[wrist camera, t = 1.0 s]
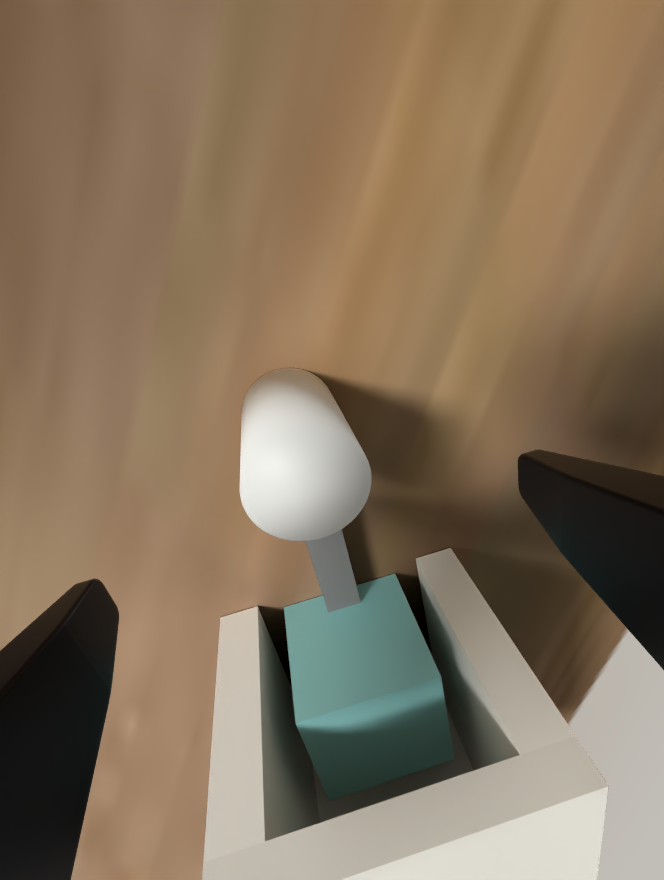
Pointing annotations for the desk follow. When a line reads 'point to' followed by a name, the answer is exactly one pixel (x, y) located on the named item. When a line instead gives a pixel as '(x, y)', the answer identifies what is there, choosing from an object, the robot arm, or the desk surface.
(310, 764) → the white box
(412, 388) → the desk surface
